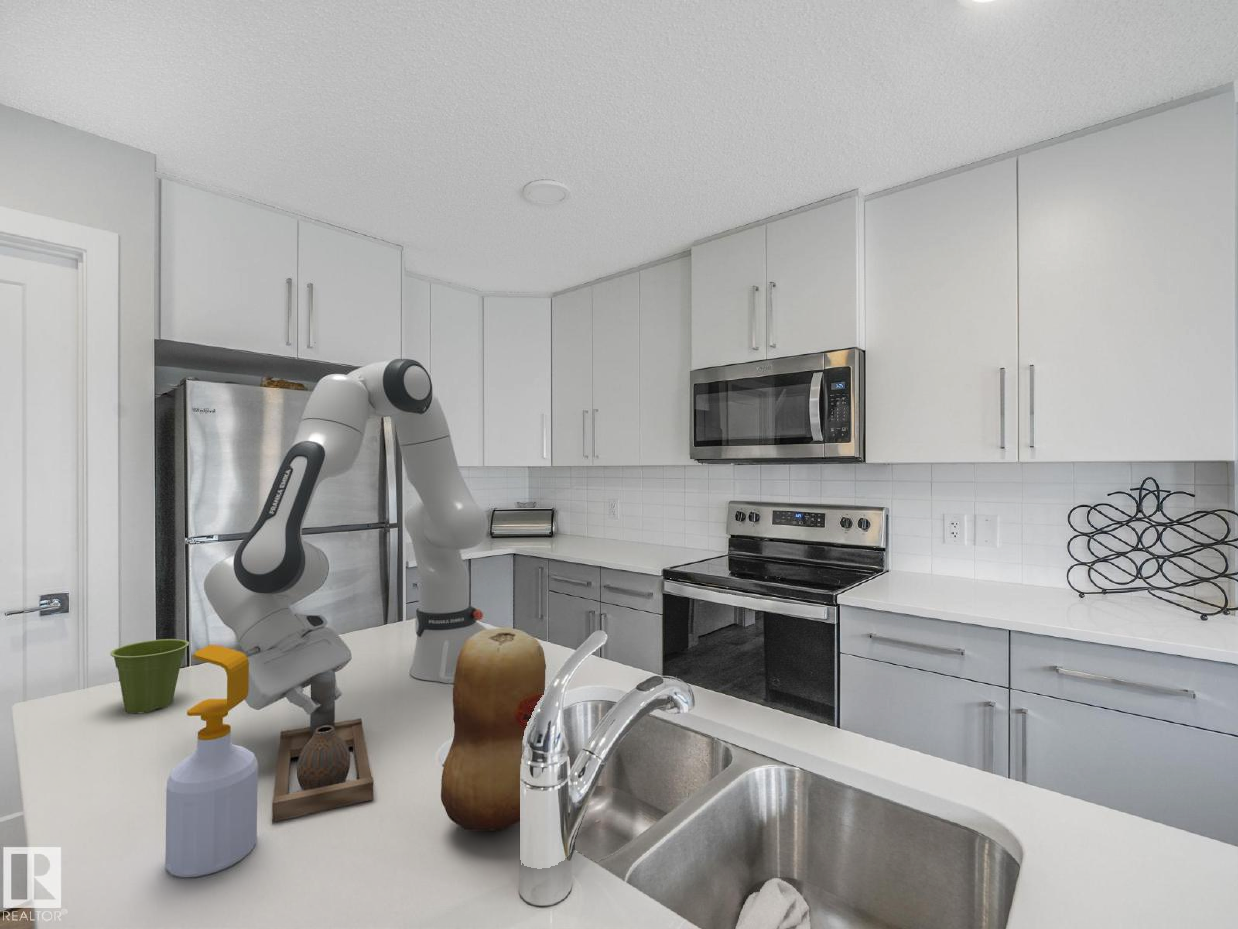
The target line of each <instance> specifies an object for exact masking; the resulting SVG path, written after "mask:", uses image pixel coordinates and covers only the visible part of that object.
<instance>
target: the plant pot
mask: <svg viewBox="0 0 1238 929" xmlns="http://www.w3.org/2000/svg"><path fill="white" fill-rule="evenodd" d="M189 645H190V642H189V641H188V640H185V639H177V638H165V639H153V640H146V641H139V642H134V643H129V644H126V645H123V646H119V647H117V648H115V649H113V650H111V651H110V656H111V657H113V658H114V662H115V663H114V664H115V667H116V669H117V672H118V679H119V684H120V690H121V695H122V696H121V697H122V701H123V707H124V711H126V712H128V713H132V714H139V713H149V712H153V711H155V710H156V709H158V708H161V709H163V708H166V707H168V706H169V705H171V704H172V703H173V702H174V698H175V692H176V687H177V683H178V680H179V679H178V677H179V673H180V668H181V665H182V660H183V659H184V657H185V653H186V652H185V651H186V648H188V646H189Z"/></svg>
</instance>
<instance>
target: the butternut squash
mask: <svg viewBox="0 0 1238 929" xmlns="http://www.w3.org/2000/svg"><path fill="white" fill-rule="evenodd" d="M546 669H547V665H546V656H545V652H544V649H543V646H542V644H541V643H540V642H539V640H538V639H537V638H535V637H533V636H532V635H531V634H528V633H527V632H525V631H523V630H521V629H517V628H512V627H506V626H505V627H496V628H487V630H483V631H480V632H478V633H476V634H474V635H473V636H471V637H470V638H469V639H468V640H467V641H466V643H465V644H464V646H463V647H462V649H461V651H460V654H459V657H458V660H457V665H456V671H455V677H454V683H452V709H453V717H452V718H453V726H454V730H453V731H454V733H453V739H452V742H451V745H450V747H449V750H448V753H447V756H446V758H445V760H444V764H443V768H442V774H441V779H440V780H441V781H440V782H441V784H440V785H441V788H440V800H441V803H442V806H443V807H444V810H445V813H446V815H447V816H448V818H449V820H451V821H452V822H454V823H455V824H456V825H458V826H459V827H460V828H461V829H462V830H464V831H471V832H472V831H475V832H486V831H497V832H499V831H503V830H506V829H508V828H510V827H512V826H513V825H516V824H517V823H519V822H521V821H520V764H521V758H522V740H523V736H524V730H525V728H526V726H527V722H528V721H529V719H530V718H531V715H532V712H533V711H534V708H535V706H536V705H537V702H538V701H539V700H540V698H541V697H542V695H544V691H545V692H546Z"/></svg>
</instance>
